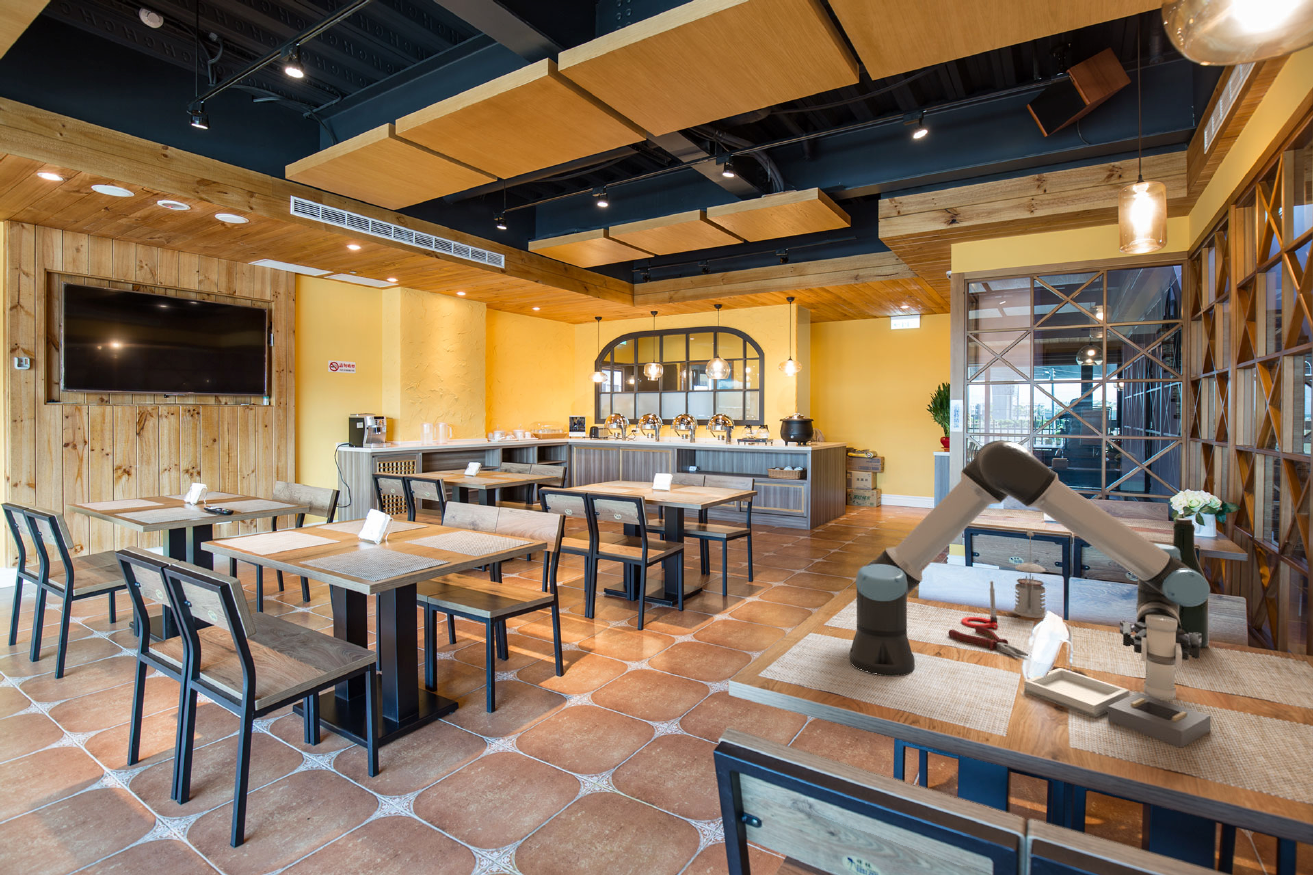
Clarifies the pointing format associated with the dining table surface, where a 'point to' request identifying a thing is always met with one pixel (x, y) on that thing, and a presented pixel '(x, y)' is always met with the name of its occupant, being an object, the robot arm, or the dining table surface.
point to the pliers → (987, 641)
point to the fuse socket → (1159, 719)
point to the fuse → (1160, 657)
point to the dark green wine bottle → (1184, 541)
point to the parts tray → (1075, 691)
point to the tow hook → (989, 622)
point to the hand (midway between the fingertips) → (1161, 657)
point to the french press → (1030, 591)
